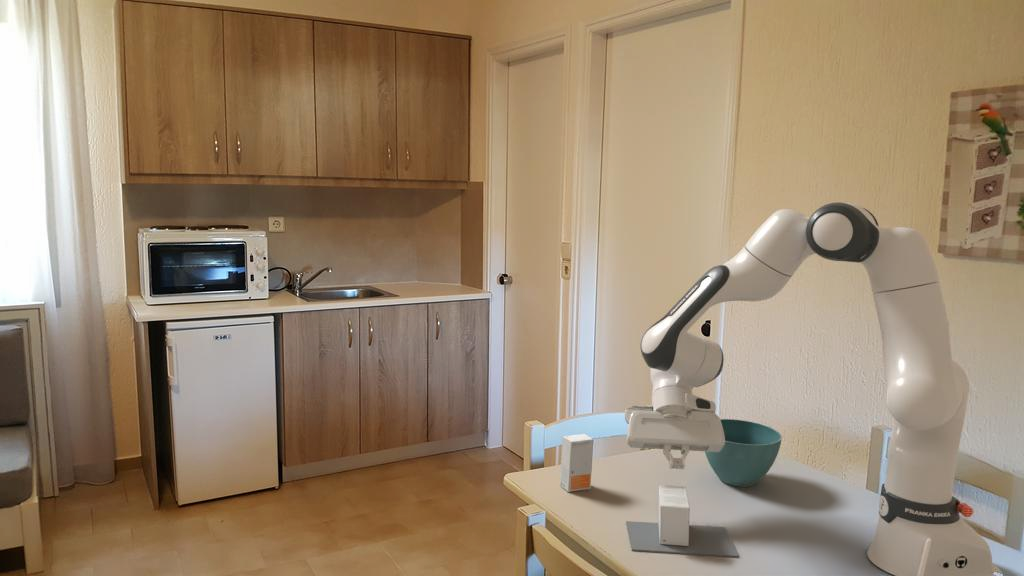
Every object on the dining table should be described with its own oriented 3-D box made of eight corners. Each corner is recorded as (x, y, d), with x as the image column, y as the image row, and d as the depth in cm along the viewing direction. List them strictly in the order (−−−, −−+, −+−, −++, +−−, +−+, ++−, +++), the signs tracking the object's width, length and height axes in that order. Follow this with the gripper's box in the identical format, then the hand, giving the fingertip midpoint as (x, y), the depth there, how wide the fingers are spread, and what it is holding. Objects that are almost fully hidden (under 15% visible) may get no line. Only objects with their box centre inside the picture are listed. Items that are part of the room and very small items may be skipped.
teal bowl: (792, 483, 175) (796, 434, 173) (749, 502, 163) (754, 449, 162) (726, 460, 189) (730, 414, 187) (683, 476, 177) (686, 427, 175)
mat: (724, 528, 150) (724, 526, 150) (738, 557, 138) (738, 555, 138) (625, 522, 151) (626, 521, 151) (631, 550, 140) (631, 549, 139)
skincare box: (568, 493, 165) (570, 441, 163) (559, 485, 169) (561, 435, 167) (591, 489, 168) (594, 439, 166) (582, 482, 171) (584, 433, 170)
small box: (685, 522, 151) (689, 547, 141) (657, 521, 152) (659, 545, 142) (686, 485, 150) (690, 508, 140) (658, 484, 151) (660, 506, 141)
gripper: (626, 398, 157) (628, 458, 149) (722, 403, 156) (730, 464, 148) (623, 412, 162) (624, 471, 154) (716, 417, 161) (723, 476, 153)
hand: (677, 467), depth 151 cm, fingers closed
